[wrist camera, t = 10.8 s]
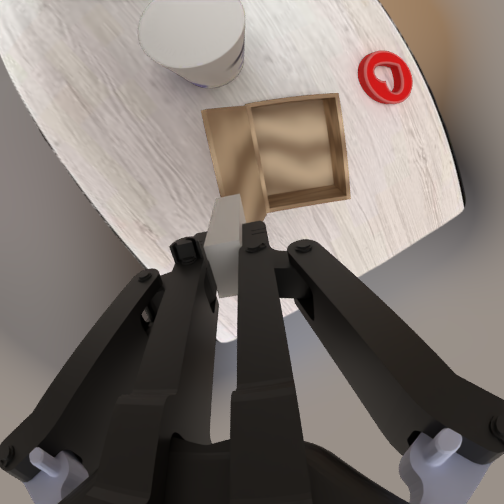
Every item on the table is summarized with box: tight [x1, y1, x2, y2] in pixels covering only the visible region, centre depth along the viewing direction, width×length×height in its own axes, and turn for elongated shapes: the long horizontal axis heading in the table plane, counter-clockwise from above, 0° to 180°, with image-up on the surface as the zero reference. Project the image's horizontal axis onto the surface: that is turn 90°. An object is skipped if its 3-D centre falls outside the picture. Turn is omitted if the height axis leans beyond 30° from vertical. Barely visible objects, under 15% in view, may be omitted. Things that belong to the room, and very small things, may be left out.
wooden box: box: [245, 93, 351, 213], centre depth 39 cm, size 16×13×7 cm
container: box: [138, 0, 245, 88], centre depth 26 cm, size 10×10×20 cm
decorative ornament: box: [358, 51, 413, 104], centre depth 35 cm, size 10×10×3 cm
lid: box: [201, 106, 267, 223], centre depth 31 cm, size 15×12×1 cm
